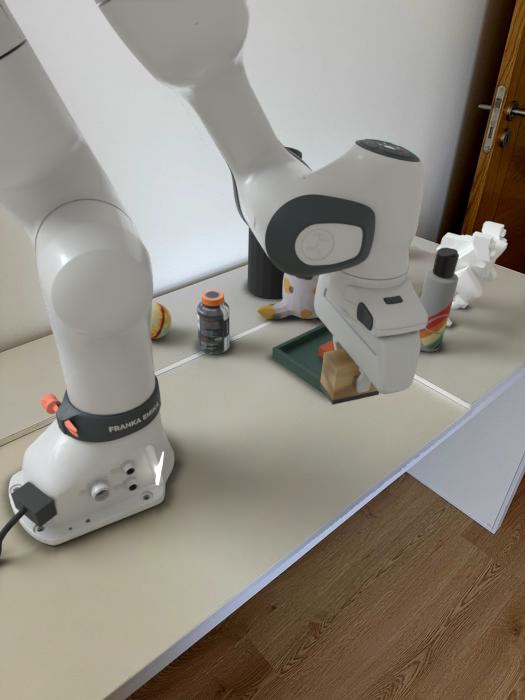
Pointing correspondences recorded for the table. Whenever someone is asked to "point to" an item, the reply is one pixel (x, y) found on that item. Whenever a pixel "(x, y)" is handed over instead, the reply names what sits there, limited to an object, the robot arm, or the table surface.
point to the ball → (159, 321)
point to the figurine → (294, 299)
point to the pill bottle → (213, 323)
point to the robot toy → (475, 261)
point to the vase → (264, 266)
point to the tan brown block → (341, 378)
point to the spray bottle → (438, 298)
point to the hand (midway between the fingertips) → (351, 376)
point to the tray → (304, 354)
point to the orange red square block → (326, 348)
